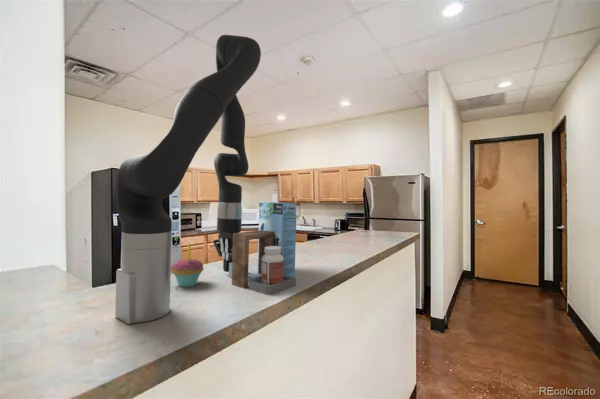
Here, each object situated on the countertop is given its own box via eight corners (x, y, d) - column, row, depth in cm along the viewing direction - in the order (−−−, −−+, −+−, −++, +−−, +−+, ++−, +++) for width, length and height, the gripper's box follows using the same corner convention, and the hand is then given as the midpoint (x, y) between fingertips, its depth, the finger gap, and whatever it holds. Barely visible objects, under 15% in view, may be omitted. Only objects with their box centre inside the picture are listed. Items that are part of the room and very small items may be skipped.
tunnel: (273, 278, 89) (274, 231, 88) (243, 288, 79) (245, 235, 79) (261, 275, 92) (262, 230, 91) (231, 284, 82) (232, 233, 82)
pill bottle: (285, 284, 83) (286, 246, 83) (279, 291, 77) (280, 249, 77) (265, 282, 85) (266, 244, 84) (257, 288, 79) (258, 248, 79)
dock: (269, 295, 74) (269, 287, 74) (248, 288, 78) (249, 281, 78) (295, 285, 83) (295, 278, 83) (275, 280, 87) (276, 273, 87)
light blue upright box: (295, 280, 86) (297, 203, 86) (279, 281, 84) (282, 203, 84) (269, 265, 103) (272, 202, 103) (256, 267, 101) (258, 201, 101)
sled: (273, 280, 86) (273, 266, 86) (253, 287, 79) (254, 271, 79) (242, 273, 94) (243, 260, 94) (222, 278, 87) (223, 264, 87)
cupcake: (206, 286, 80) (207, 242, 80) (173, 290, 75) (174, 244, 75) (198, 278, 87) (199, 238, 87) (167, 282, 82) (168, 240, 82)
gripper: (206, 215, 92) (204, 269, 93) (234, 218, 85) (232, 277, 85) (225, 214, 99) (223, 265, 99) (252, 217, 91) (250, 272, 91)
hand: (227, 271), depth 92 cm, fingers closed
